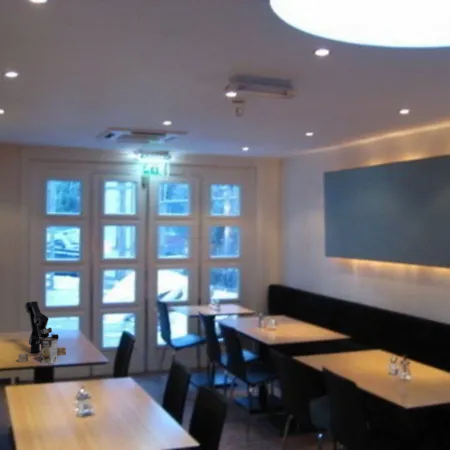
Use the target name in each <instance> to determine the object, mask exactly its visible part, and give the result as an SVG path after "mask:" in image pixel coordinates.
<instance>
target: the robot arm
mask: <svg viewBox="0 0 450 450" xmlns="http://www.w3.org/2000/svg"><path fill="white" fill-rule="evenodd" d="M24 309H25V311H26V313H28V315H29V322H30V327H31V328H30V329H31V333H30V335H29V338H28V339H29V340H28V345H30V351H29V352H28V354H29V353H30V354H39V353H41V339H43V338H54V339H57V341H58V340H59V334H58V333H56V334H52V335H51V336H50V333H52V332H53V329H52V327H47V325H48V322H49V317H48V316H47V315H45V314H43V313H42V312H41V309H40V306H39V302H38V301H26V303H25V304H24Z"/></svg>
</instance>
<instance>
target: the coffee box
mask: <svg viewBox="0 0 450 450" xmlns="http://www.w3.org/2000/svg"><path fill="white" fill-rule="evenodd" d="M57 348H58V340H57V339H54V338H43V339H41V345H40V351H41V352H40V362H41V363H42V364H43V363H44V364H50V365H51V364H55V363H57V362H58V355H57Z"/></svg>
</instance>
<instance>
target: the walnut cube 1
mask: <svg viewBox="0 0 450 450" xmlns="http://www.w3.org/2000/svg"><path fill="white" fill-rule="evenodd" d="M28 361H29V353H20V354H18V359H17V362H18V363H27V362H28Z"/></svg>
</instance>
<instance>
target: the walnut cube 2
mask: <svg viewBox="0 0 450 450" xmlns="http://www.w3.org/2000/svg"><path fill="white" fill-rule="evenodd" d="M66 349H67V347H63V346H59V347H57V356H58V355H60V357H61V355H62V356H66V355H67V350H66Z"/></svg>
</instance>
